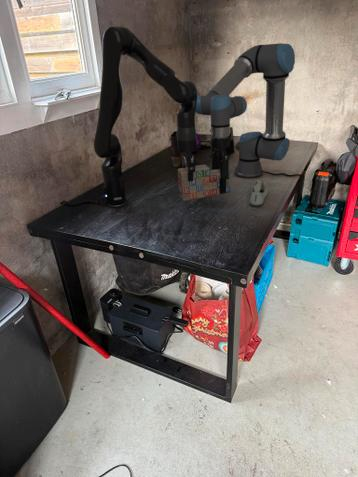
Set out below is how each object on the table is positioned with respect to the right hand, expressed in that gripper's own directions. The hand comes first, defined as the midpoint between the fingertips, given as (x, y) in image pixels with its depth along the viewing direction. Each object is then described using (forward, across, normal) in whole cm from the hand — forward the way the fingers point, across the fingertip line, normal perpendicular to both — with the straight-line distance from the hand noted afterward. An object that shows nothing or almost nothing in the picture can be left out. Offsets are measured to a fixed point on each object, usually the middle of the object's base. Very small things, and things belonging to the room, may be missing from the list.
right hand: (219, 190), depth 144 cm
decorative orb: (+10, -97, +15) cm, 99 cm away
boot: (+10, -79, +2) cm, 80 cm away
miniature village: (+11, -93, +64) cm, 113 cm away
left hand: (-8, 0, -14) cm, 16 cm away
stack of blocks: (+1, 0, -7) cm, 7 cm away
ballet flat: (+10, -8, +23) cm, 27 cm away
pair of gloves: (+11, -115, +36) cm, 121 cm away
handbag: (+10, -81, +34) cm, 89 cm away
